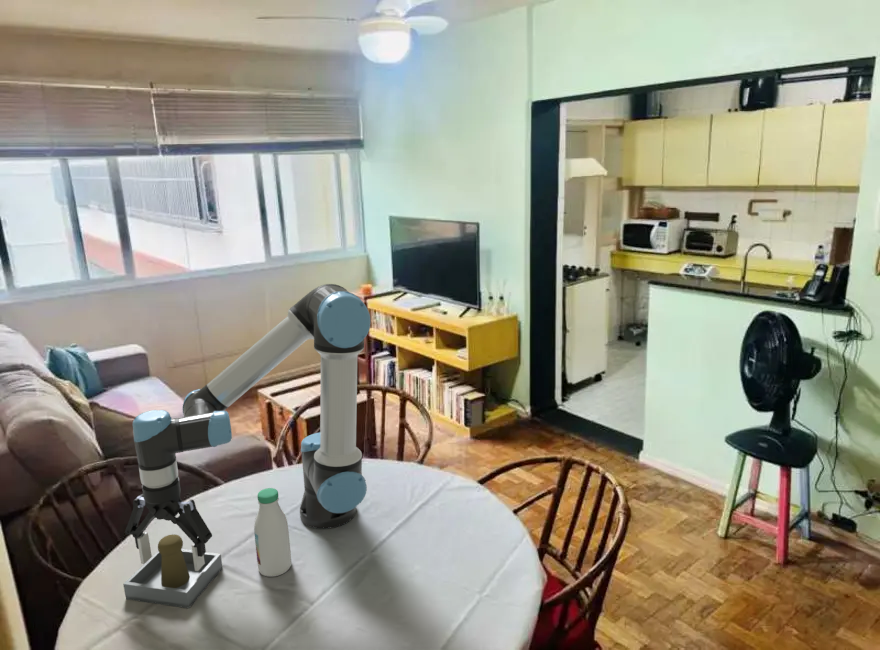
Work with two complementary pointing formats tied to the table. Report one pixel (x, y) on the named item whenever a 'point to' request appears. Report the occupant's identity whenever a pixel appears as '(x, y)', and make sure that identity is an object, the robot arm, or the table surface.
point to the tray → (150, 589)
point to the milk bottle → (271, 535)
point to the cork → (172, 562)
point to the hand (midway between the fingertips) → (173, 563)
